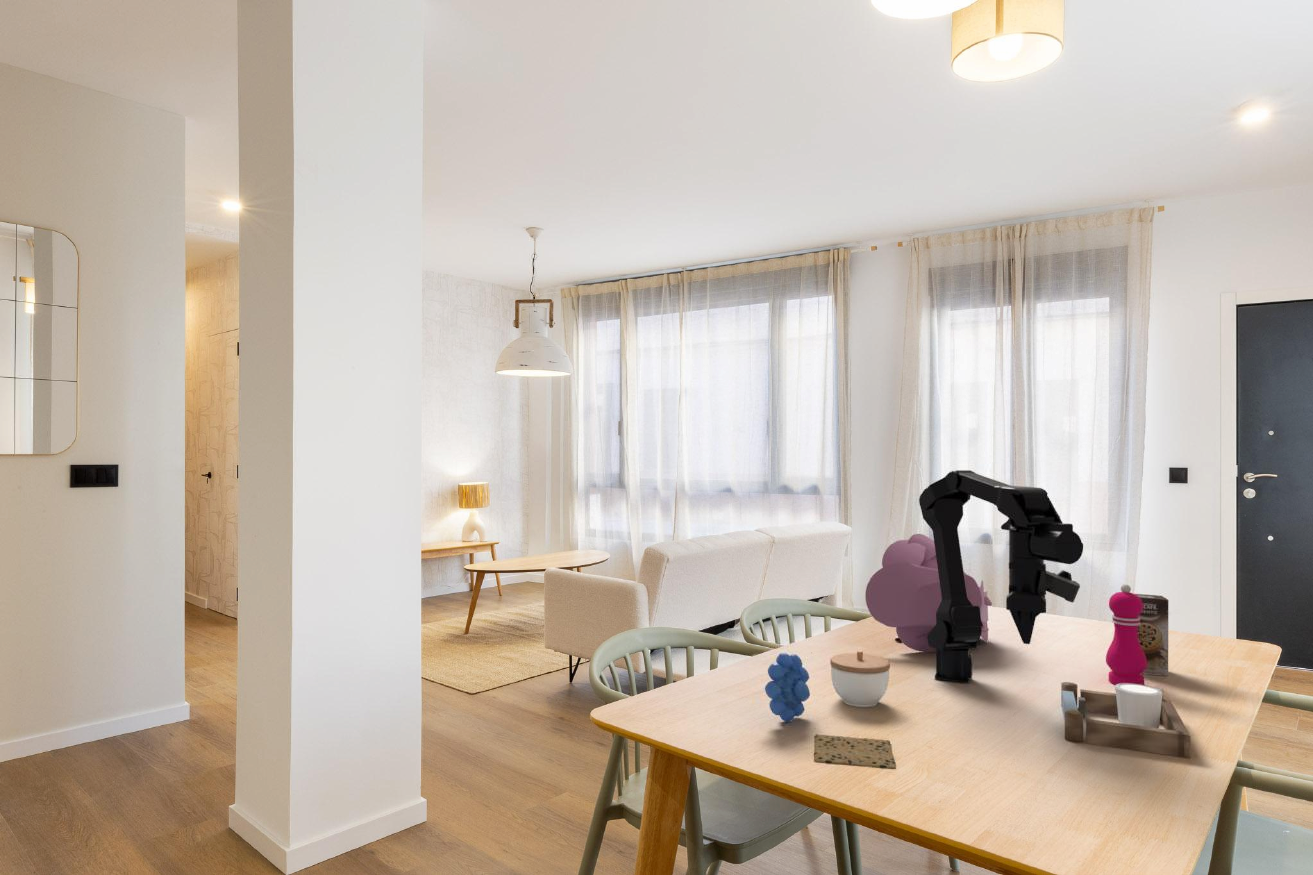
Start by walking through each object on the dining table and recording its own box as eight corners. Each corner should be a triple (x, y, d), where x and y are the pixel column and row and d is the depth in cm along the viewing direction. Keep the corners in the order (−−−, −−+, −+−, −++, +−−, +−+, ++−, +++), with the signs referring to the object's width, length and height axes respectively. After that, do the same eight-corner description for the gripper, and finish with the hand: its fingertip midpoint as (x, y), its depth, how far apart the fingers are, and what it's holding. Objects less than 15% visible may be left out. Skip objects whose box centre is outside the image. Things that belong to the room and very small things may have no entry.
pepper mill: (1153, 689, 155) (1152, 588, 156) (1113, 687, 157) (1112, 586, 157) (1138, 679, 162) (1138, 582, 163) (1100, 677, 164) (1100, 580, 164)
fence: (1065, 740, 127) (1064, 712, 127) (1061, 704, 146) (1061, 679, 146) (1191, 759, 119) (1190, 728, 119) (1169, 718, 138) (1169, 691, 138)
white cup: (1105, 723, 135) (1105, 682, 135) (1143, 722, 136) (1143, 682, 136) (1133, 738, 128) (1132, 694, 128) (1172, 737, 129) (1172, 694, 129)
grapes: (789, 736, 128) (789, 662, 128) (755, 726, 132) (756, 654, 133) (827, 719, 136) (827, 649, 136) (794, 710, 141) (795, 643, 141)
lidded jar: (837, 690, 153) (837, 642, 154) (894, 698, 149) (894, 648, 149) (824, 706, 144) (824, 654, 144) (884, 714, 139) (884, 661, 139)
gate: (1066, 731, 130) (1066, 713, 130) (1062, 706, 143) (1061, 690, 143) (1079, 733, 129) (1078, 714, 129) (1073, 708, 142) (1073, 691, 142)
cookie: (890, 742, 127) (890, 736, 127) (897, 772, 115) (897, 765, 115) (814, 736, 129) (814, 730, 129) (813, 764, 117) (813, 758, 117)
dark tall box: (1119, 671, 168) (1119, 596, 169) (1114, 664, 174) (1114, 591, 175) (1169, 676, 165) (1169, 599, 165) (1163, 668, 171) (1162, 594, 171)
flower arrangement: (919, 644, 212) (902, 540, 218) (1012, 639, 199) (991, 528, 205) (872, 658, 184) (854, 537, 190) (976, 652, 171) (953, 523, 177)
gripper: (1079, 566, 131) (1079, 660, 130) (1074, 554, 148) (1074, 637, 147) (1006, 561, 136) (1006, 652, 135) (1009, 550, 152) (1009, 631, 152)
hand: (1026, 643), depth 142 cm, fingers closed
